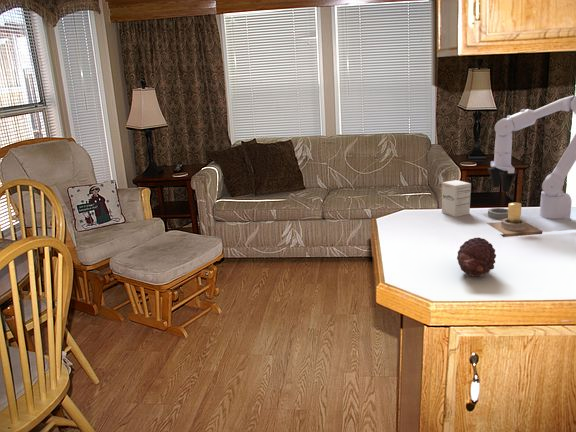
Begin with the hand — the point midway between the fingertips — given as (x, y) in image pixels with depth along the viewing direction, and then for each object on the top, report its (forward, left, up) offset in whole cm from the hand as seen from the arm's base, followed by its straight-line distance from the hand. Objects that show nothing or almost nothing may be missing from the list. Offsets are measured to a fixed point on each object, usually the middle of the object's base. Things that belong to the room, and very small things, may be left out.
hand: (500, 189), depth 202 cm
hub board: (+5, +20, -9) cm, 22 cm away
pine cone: (+33, +54, -10) cm, 64 cm away
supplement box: (+16, -2, -10) cm, 19 cm away
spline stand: (+3, +6, -9) cm, 12 cm away
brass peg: (+5, +20, -8) cm, 22 cm away
